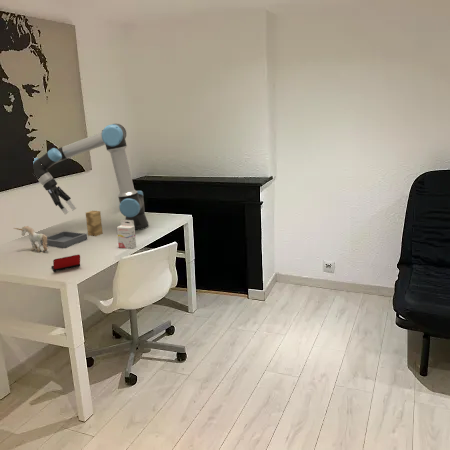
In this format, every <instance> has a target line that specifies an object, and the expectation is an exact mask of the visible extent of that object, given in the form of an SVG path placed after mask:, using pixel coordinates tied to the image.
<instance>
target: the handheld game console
mask: <svg viewBox="0 0 450 450" xmlns="http://www.w3.org/2000/svg"><path fill="white" fill-rule="evenodd" d="M52 262H53V263H52V264H53V265H51V269H52V271H53V272H59V271H65V270H69V269H74V268H75V269H76V268H80V267H81V254H74V255H69V256H64V257H59V258H55V259H53V260H52Z"/></svg>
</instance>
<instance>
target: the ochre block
mask: <svg viewBox="0 0 450 450" xmlns="http://www.w3.org/2000/svg"><path fill="white" fill-rule="evenodd" d="M101 215H102V214H101V211H100V210H90V211H87V212H85V220H86V229H87V237H89V236H91V237H98V236H101V235H103V224H102V216H101Z"/></svg>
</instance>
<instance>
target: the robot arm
mask: <svg viewBox="0 0 450 450" xmlns="http://www.w3.org/2000/svg"><path fill="white" fill-rule="evenodd" d="M126 137H127V130H126V128H125V127H124V126H123V125H122V124H120V123H112V124H108V125H106V126H105V127H104V129H102V130H101V132H98V133H96V134H93V135H90V136H88V137H85V138H82V139H79V140H77V141H75V142H71V143H70V144H66V145H64V146H60V147H59V148H55V147H52V148H50V149H49V150H47V152H45V153H44V154H43V155H41V156H40V157H37V158H34V157H33V158H34V161H33V169H34V174H35V175H36V177H37V178H36V177H35V178H36V179H37V180H38V182H39V184H41V186H42V187H43V188H44V189H45V191H47V193H48V194H49V195H50V197H51V199H52V202H53V204H54V205H55V207H57V206H58V208H59V209H60V210H61V211H62V212H63V214H64V215H67V214H68V213H69V212H70V211H69V209H68V208H67V206H69V208H70V209H71V210H72V211H73V212H74V211H75V210H76V209H77V206H76V205H75V204H74V203H73V201H72V200H71V196H69V195H68V194H67V193H66V192H65V191H64V190H63V189H62V187H60V186H57V185H58V182H57V180H56V179H55V178H54V177H53V176H52V174H51V173H50V172H49V170H48V169H50V168H51V167H52V166H54V165H55V164H58V163H60V162H63V161H65V160H68V159H71V158H73V157H75V156H78V155H81V154H84V153H87V152H89V151H92V150H95V149H97V148H101V147H103V146H105V148H106V151H107V152H109V153H110V157H111V162H112V165H113V170H114V173H115V178H116V182H117V186H118V190H119V194H118V195H117V197H118V200H119V206H118V207H119V209H118V210H119V211H120V213H121V214H122V215H123V216H124V217H125V219H124V220H133V221H134V226H135V231H137V230H138V229H139V230H144V229H147V228H149V227H150V225H149V221H148V219H147V216H146V213H145V212H146V211H145V201H144V192H143V191H142V190H136V189H135V187H134V182H133V178H132V174H131V171H130V165H129V161H128V157H127V153H126V149H127V147H128V145H127V142H126ZM41 164H42V165H41ZM34 174H33V175H34ZM35 175H34V176H35ZM39 177H40V178H39ZM38 178H39V179H38ZM60 198H61V199H62V200H64V201H65V203H66V204H67V206H65V204H64V203H63V202H62V201H61V199H60ZM125 223H130V222H125ZM146 227H147V228H146ZM143 228H144V229H143Z"/></svg>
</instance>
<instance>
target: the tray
mask: <svg viewBox="0 0 450 450" xmlns="http://www.w3.org/2000/svg"><path fill="white" fill-rule="evenodd" d="M87 240H88V233H82V232H75V231H68V230H67V231H66V230H63V231H60V232H58V233H53V234H51V235H48V236H47V247H54V248H59V249H67V248H69V247H72V246H73V245H77V244H79V243H82V242H84V241H87ZM42 243H43V242H42V241H41V246H43V245H42Z"/></svg>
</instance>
